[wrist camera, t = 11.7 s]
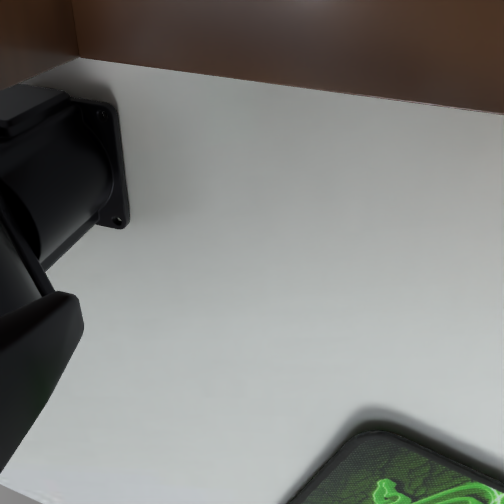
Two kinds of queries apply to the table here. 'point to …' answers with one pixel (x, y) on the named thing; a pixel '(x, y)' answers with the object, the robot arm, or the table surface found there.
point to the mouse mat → (396, 476)
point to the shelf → (276, 43)
